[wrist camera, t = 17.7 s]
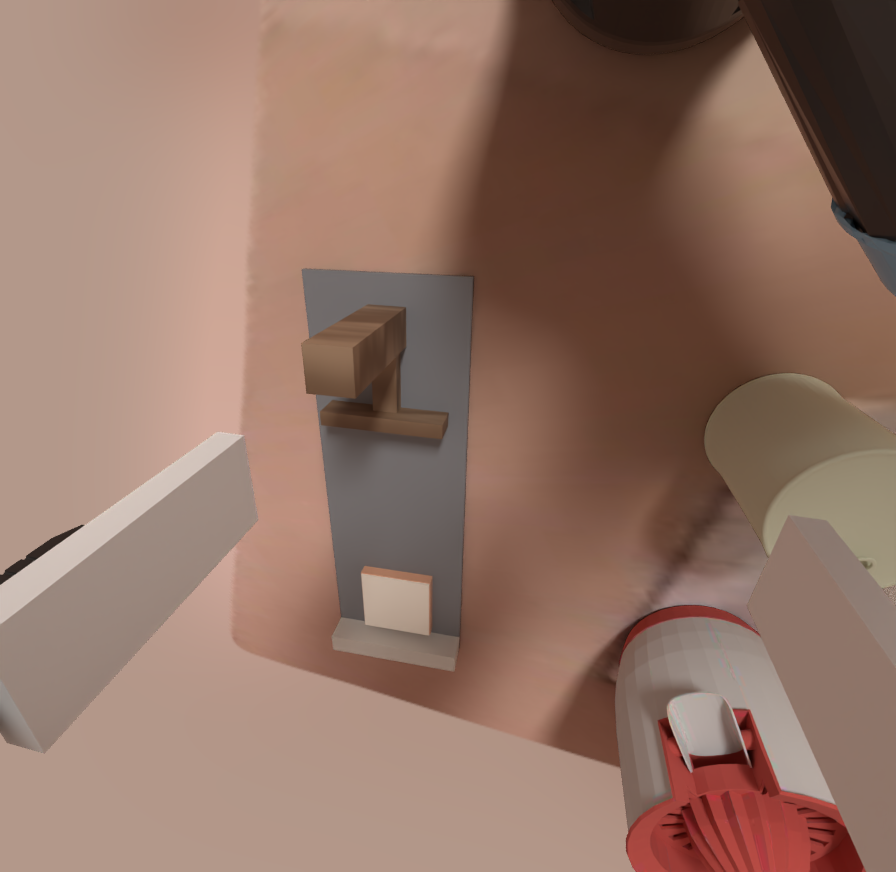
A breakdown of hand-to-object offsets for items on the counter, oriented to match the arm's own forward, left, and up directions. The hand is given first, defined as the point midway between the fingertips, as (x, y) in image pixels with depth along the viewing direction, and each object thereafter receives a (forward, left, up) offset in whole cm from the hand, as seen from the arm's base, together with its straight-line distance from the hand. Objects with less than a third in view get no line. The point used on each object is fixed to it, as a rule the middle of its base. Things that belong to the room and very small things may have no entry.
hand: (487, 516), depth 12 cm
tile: (+30, -11, -25) cm, 40 cm away
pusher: (+5, -11, -25) cm, 28 cm away
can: (+8, +18, -26) cm, 33 cm away
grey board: (+17, -11, -26) cm, 33 cm away
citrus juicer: (+30, +17, -26) cm, 43 cm away
